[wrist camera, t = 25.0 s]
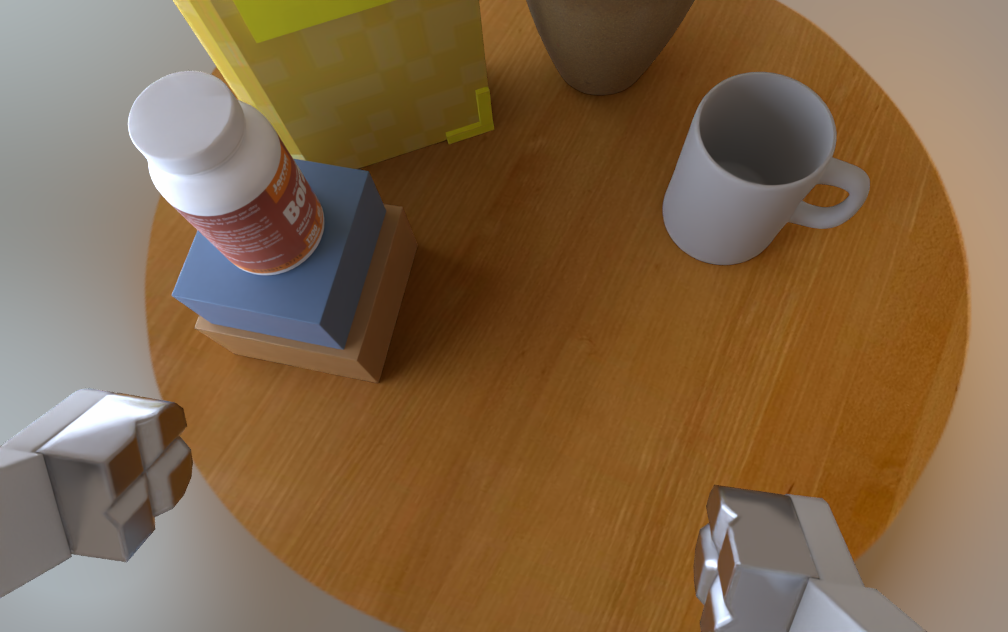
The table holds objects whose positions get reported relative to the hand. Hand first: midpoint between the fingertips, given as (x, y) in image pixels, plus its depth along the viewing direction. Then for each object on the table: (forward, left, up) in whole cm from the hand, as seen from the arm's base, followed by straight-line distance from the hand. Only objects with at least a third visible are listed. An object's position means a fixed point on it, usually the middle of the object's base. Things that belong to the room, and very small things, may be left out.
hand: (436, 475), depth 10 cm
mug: (+25, -12, -36) cm, 45 cm away
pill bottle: (+13, +17, -25) cm, 33 cm away
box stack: (+13, +17, -35) cm, 41 cm away
